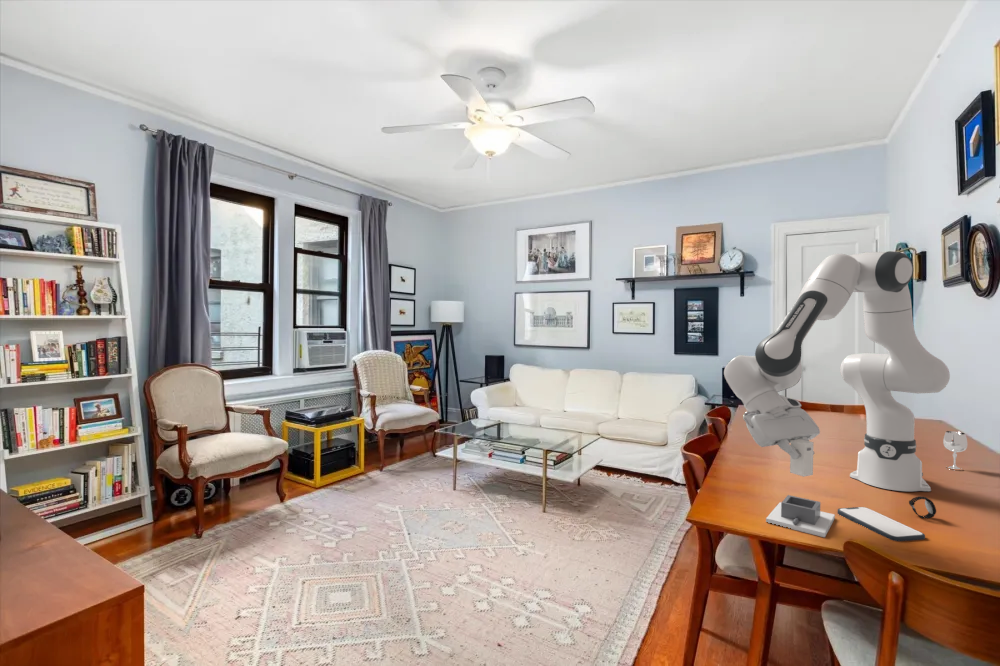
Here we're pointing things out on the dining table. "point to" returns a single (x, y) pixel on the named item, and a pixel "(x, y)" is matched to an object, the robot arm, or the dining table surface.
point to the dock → (801, 516)
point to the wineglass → (955, 444)
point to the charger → (802, 458)
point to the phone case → (881, 524)
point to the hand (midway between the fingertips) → (804, 456)
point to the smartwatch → (928, 504)
